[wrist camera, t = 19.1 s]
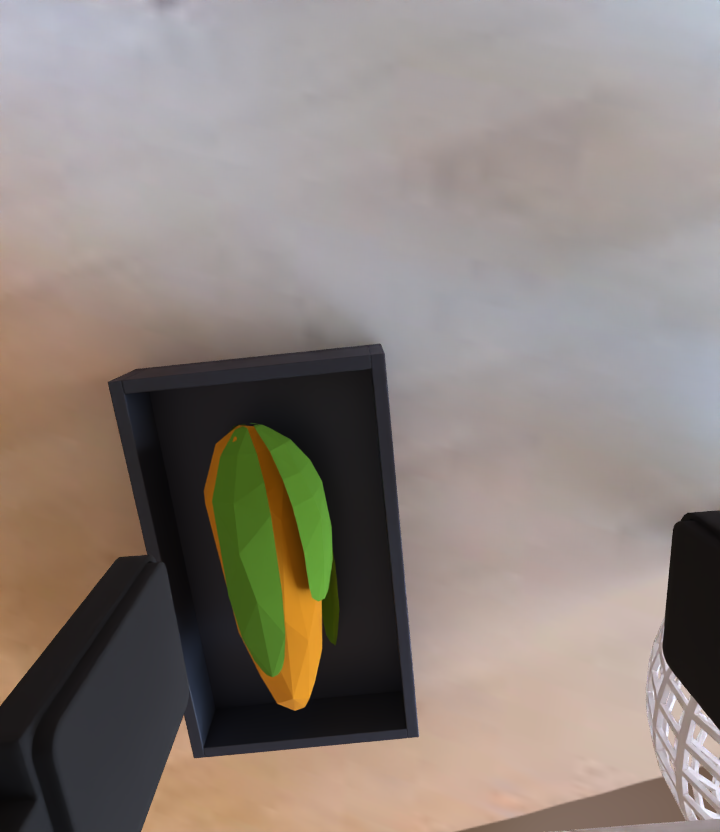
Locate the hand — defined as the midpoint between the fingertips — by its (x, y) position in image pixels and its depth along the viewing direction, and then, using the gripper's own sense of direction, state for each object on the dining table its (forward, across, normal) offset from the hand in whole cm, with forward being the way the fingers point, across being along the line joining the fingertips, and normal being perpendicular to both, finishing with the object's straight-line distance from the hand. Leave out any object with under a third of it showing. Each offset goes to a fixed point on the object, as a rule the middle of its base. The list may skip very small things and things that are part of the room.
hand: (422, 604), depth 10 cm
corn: (+25, +6, +12) cm, 28 cm away
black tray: (+25, +7, +12) cm, 29 cm away
